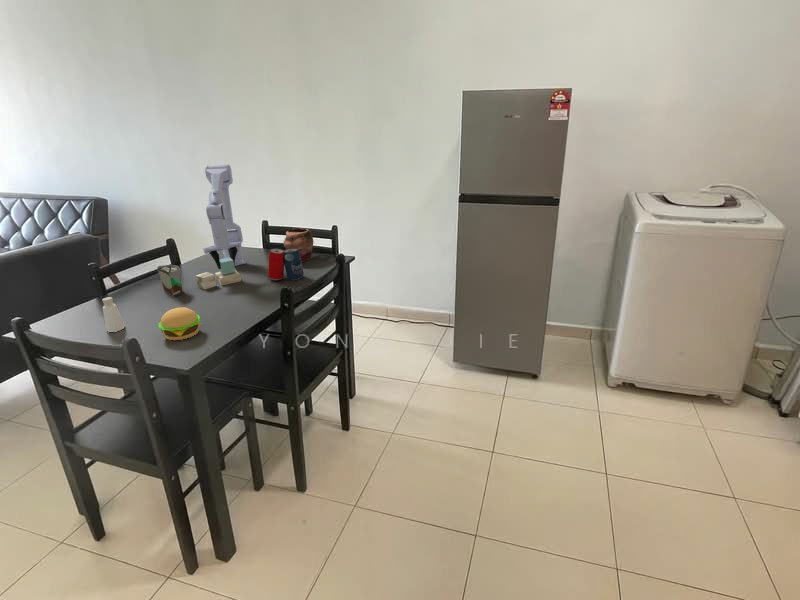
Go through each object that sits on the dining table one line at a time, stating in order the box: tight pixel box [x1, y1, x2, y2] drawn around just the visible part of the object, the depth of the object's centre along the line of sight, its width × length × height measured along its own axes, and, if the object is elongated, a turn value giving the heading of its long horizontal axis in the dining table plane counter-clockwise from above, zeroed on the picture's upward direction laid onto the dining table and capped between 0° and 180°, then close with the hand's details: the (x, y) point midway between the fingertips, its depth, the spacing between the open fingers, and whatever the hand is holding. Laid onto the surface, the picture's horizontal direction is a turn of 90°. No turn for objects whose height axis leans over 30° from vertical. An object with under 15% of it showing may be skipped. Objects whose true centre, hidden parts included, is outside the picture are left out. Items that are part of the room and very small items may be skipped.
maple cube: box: [195, 271, 217, 290], centre depth 182 cm, size 5×5×5 cm
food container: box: [157, 264, 184, 298], centre depth 176 cm, size 12×6×10 cm, turn 47°
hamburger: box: [158, 306, 202, 342], centre depth 142 cm, size 12×12×9 cm
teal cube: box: [218, 257, 236, 275], centre depth 186 cm, size 5×5×5 cm
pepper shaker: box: [101, 296, 126, 333], centre depth 145 cm, size 5×5×11 cm
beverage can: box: [267, 248, 285, 281], centre depth 185 cm, size 6×6×12 cm
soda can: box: [283, 248, 304, 281], centre depth 187 cm, size 7×7×12 cm
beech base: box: [214, 269, 242, 286], centre depth 188 cm, size 8×8×4 cm
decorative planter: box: [282, 228, 314, 263], centre depth 211 cm, size 20×12×14 cm, turn 164°
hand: (226, 267), depth 186 cm, fingers closed on teal cube, 5 cm apart
